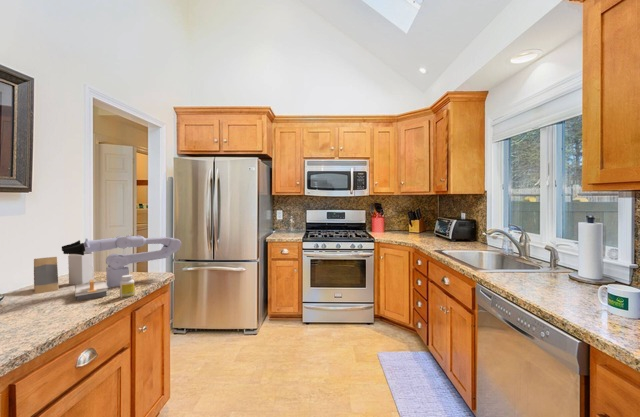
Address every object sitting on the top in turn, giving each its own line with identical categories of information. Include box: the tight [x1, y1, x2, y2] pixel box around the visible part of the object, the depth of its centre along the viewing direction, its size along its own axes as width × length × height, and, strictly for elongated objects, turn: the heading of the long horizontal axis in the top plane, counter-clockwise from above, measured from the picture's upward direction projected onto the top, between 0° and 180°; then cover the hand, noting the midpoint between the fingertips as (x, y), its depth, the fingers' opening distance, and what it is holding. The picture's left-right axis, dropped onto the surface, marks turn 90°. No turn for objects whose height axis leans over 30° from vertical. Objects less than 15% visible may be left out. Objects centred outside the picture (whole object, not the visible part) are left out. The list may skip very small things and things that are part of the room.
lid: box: [74, 278, 109, 297], centre depth 128 cm, size 11×17×5 cm, turn 41°
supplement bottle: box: [119, 274, 136, 300], centre depth 126 cm, size 5×5×10 cm
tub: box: [76, 291, 108, 302], centre depth 129 cm, size 10×14×4 cm
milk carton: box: [67, 252, 94, 286], centre depth 150 cm, size 7×7×19 cm
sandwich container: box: [33, 256, 60, 295], centre depth 138 cm, size 9×15×15 cm, turn 45°
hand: (62, 250), depth 130 cm, fingers open, 7 cm apart
